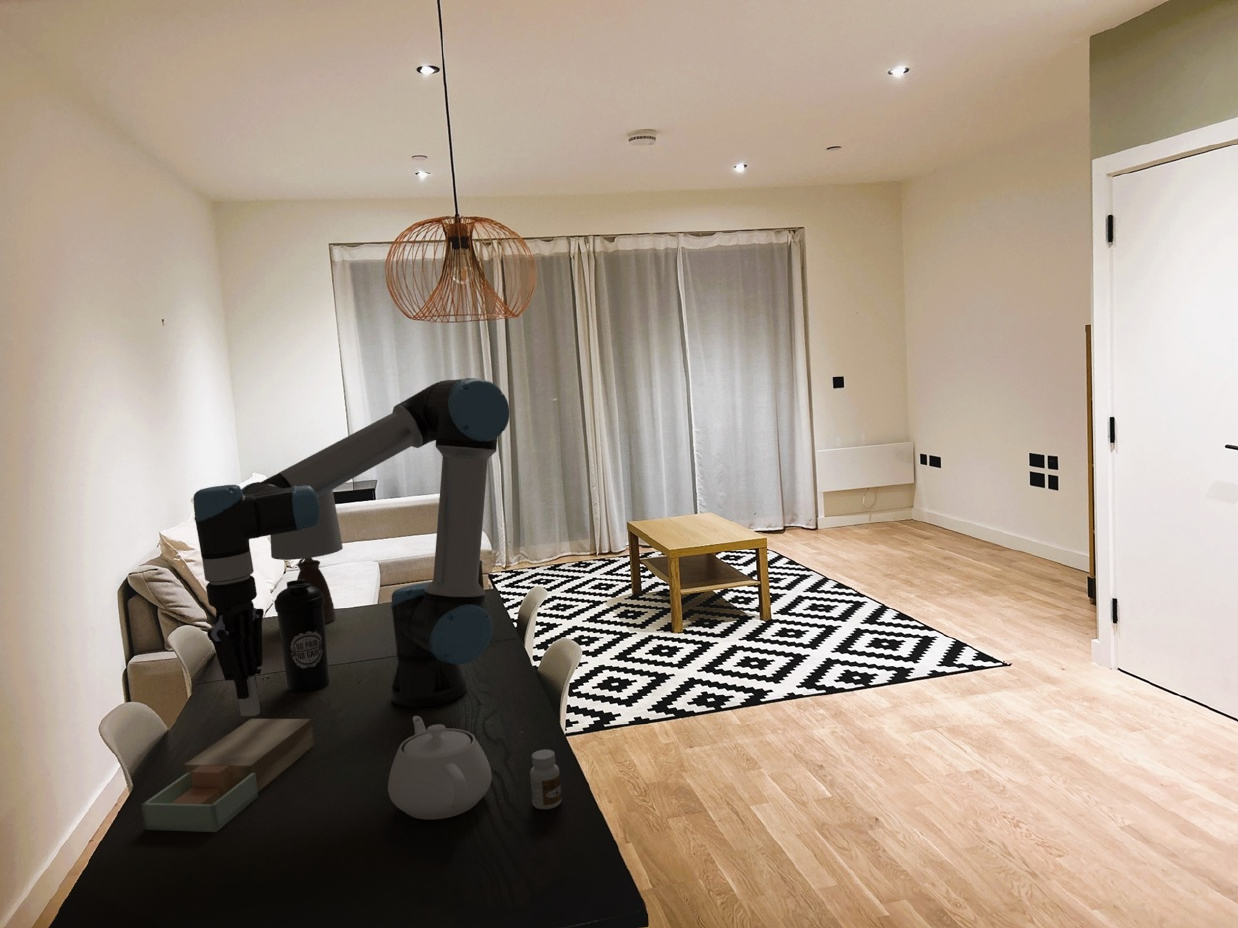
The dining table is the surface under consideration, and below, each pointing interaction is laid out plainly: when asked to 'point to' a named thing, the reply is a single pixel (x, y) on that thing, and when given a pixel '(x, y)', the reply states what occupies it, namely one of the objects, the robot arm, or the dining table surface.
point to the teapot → (438, 772)
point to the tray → (196, 807)
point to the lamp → (312, 549)
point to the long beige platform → (258, 749)
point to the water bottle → (303, 636)
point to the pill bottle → (545, 780)
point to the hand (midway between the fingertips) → (250, 713)
